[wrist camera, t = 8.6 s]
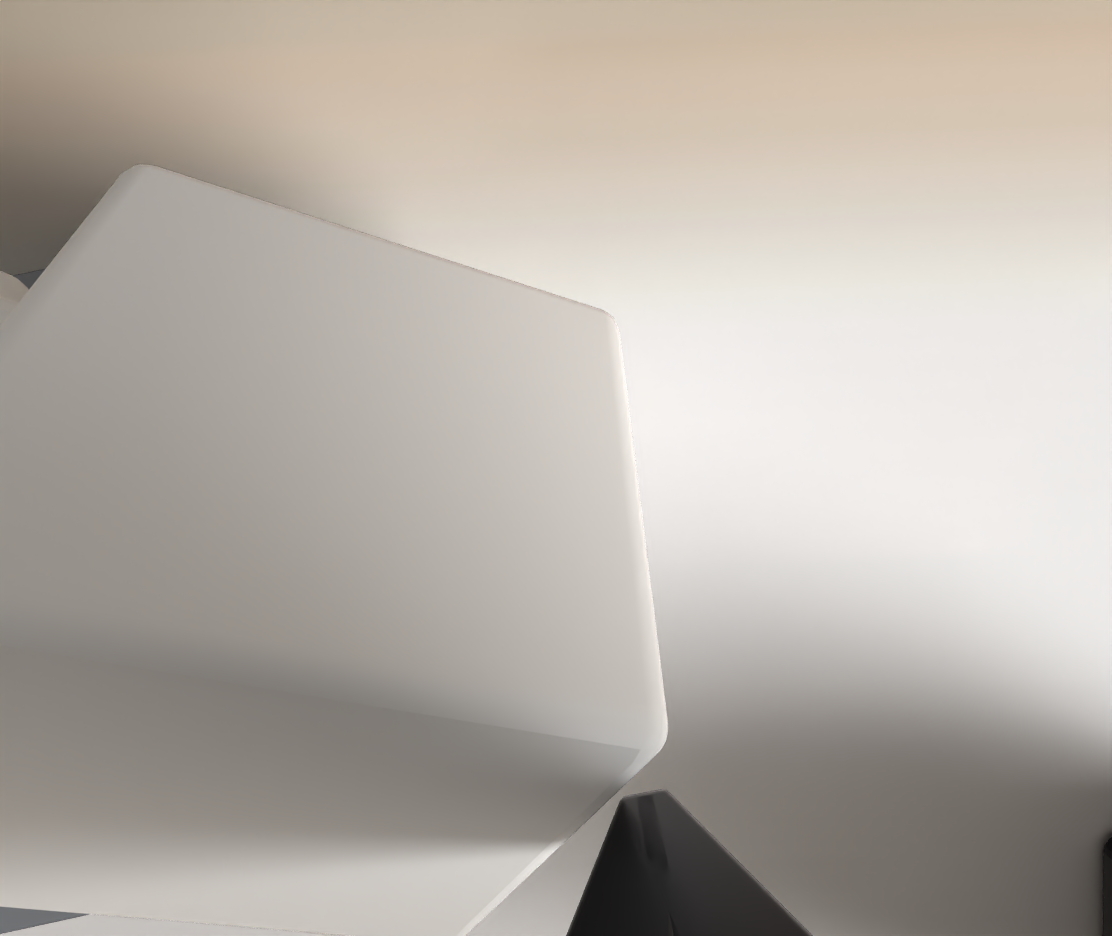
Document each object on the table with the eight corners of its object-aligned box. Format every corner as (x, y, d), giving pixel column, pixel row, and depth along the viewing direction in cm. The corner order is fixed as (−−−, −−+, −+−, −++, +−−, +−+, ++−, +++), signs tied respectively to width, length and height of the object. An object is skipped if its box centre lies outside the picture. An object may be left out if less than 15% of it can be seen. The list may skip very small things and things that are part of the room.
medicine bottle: (485, 572, 17) (-179, 428, 14) (625, 307, 12) (-332, -5, 9) (464, 952, 12) (-583, 867, 9) (687, 751, 7) (-1382, 411, 4)
